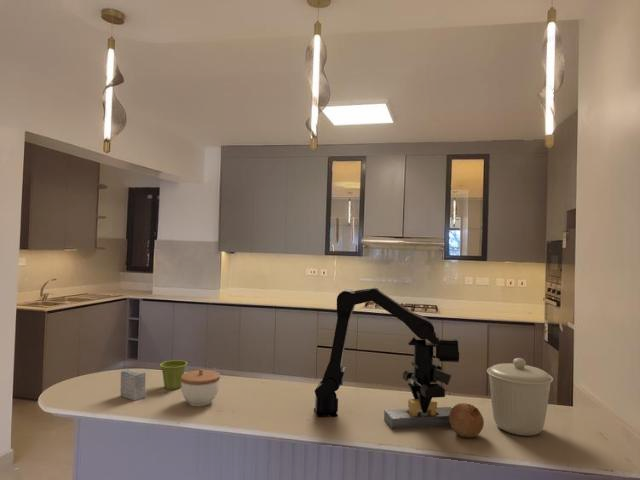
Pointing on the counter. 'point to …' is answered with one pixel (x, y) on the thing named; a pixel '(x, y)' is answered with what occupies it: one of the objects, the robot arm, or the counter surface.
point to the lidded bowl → (200, 386)
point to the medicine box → (133, 384)
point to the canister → (519, 397)
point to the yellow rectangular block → (415, 406)
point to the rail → (417, 418)
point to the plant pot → (173, 373)
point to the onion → (466, 420)
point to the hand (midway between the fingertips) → (422, 411)
